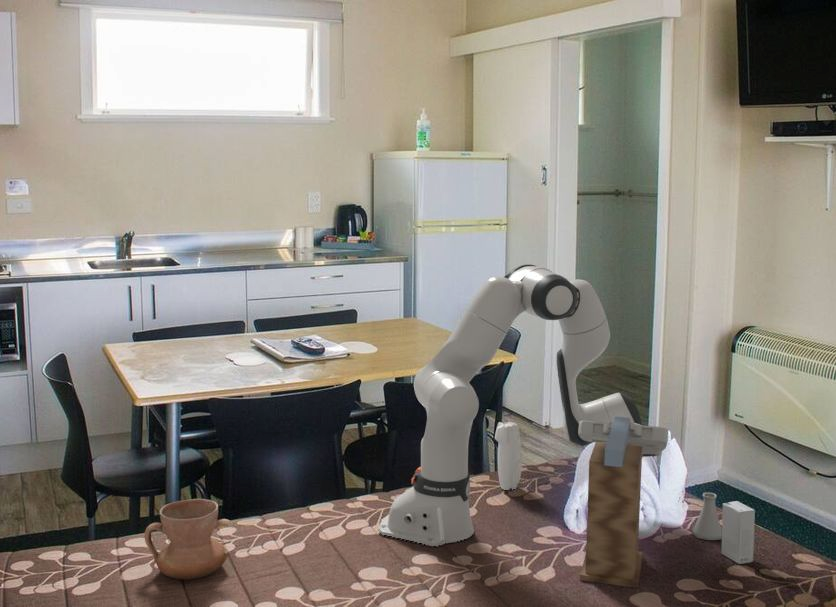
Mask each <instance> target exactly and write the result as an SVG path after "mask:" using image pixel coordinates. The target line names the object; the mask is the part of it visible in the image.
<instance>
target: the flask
mask: <svg viewBox="0 0 836 607" xmlns="http://www.w3.org/2000/svg"><path fill="white" fill-rule="evenodd" d="M702 497H703V500H702V501H703V503H702V507H701V511H700V513H699V516H698V518H697V520H696V522H695V524H694V526H693V529H692V530H691V534H692V535H693V536H694V537H695V538H696V539H701V540H706V541H722V525H721V523H720V520H719V518H718V516H719V515H718V513H717V507H716V499H717V497H718V495H717V494H716V493H714V492H703V494H702Z"/></svg>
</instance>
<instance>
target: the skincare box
mask: <svg viewBox="0 0 836 607" xmlns="http://www.w3.org/2000/svg"><path fill="white" fill-rule="evenodd" d="M755 514H756V510H755V509H754V508H752V507H750V506H748V505H746V504H743V503H742V502H740V501H738V500H735V501H729V502H724V503H722V518H721V519H722V522H721V523H722V525H721V529H722V539H721V554H722V555H724V556H725V557H726V558H728V559H729V560H731V561H734V562H735V563H736V564H738V565H744V564H748V563H752V562H754V549H755V548H754V547H755V522H756V521H755Z"/></svg>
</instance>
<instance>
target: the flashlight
mask: <svg viewBox="0 0 836 607" xmlns="http://www.w3.org/2000/svg"><path fill="white" fill-rule="evenodd" d="M520 435H521V432H520V429H519V427H518V424H517V423H515V422H513V421H507V422H501V421H499V422H498V423H497V426H496V430H495V434H494V440H495V441H496V442H498V447H497V473H498V481H499V482H498V483H499V487H501V488H502V489H505V490H509V491H510V490H511V491H512V490H513V489H515V490H516V489H517V488H518V484H519V483H520V481H521V476H522V460H523V456H522V443H521V438H520ZM501 488H500V489H501ZM502 489H501V490H502ZM513 491H514V490H513Z"/></svg>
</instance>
